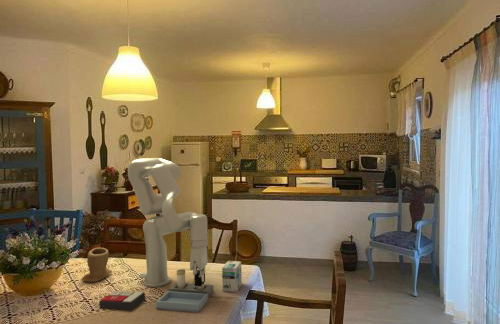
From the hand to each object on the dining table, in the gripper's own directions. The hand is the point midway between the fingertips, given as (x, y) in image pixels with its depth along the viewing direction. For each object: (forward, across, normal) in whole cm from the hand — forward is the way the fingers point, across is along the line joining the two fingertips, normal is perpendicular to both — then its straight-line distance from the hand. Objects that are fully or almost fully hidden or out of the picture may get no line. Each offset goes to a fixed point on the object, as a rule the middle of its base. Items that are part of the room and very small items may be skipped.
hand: (200, 283), depth 172 cm
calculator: (+5, +15, -29) cm, 33 cm away
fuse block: (+5, 0, -4) cm, 6 cm away
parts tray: (+5, +12, -3) cm, 13 cm away
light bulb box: (+5, -10, +12) cm, 16 cm away
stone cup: (+5, -11, -57) cm, 58 cm away
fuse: (+5, 0, -9) cm, 10 cm away
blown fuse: (+4, 0, 0) cm, 4 cm away
